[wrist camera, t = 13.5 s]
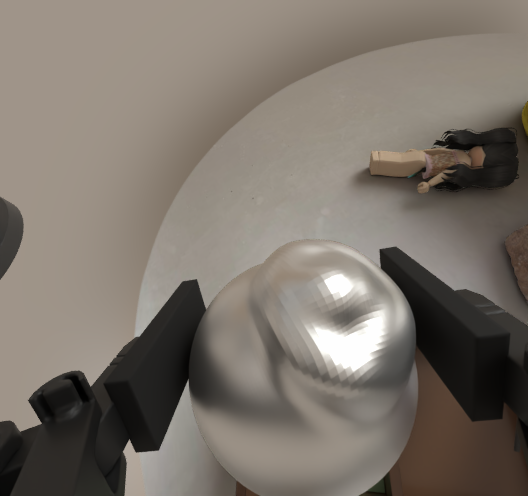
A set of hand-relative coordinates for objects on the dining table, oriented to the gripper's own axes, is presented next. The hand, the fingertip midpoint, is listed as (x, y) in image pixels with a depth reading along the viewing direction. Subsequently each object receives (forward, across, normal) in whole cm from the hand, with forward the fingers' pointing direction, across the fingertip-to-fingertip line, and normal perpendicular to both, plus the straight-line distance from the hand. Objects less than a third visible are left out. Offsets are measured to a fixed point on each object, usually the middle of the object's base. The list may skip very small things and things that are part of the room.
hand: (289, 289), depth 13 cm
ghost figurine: (+1, 0, -5) cm, 5 cm away
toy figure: (+24, +19, 0) cm, 31 cm away
